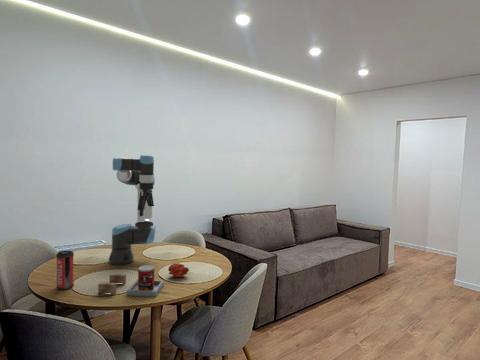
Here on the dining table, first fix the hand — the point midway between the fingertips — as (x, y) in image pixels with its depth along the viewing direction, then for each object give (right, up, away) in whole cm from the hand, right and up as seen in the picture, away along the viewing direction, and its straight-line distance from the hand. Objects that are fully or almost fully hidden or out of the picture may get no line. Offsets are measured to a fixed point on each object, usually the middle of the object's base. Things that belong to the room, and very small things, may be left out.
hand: (145, 219), depth 176 cm
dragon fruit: (+19, -33, -1) cm, 38 cm away
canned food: (+6, -33, -20) cm, 39 cm away
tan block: (-11, -33, -20) cm, 40 cm away
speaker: (-35, -32, -20) cm, 51 cm away
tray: (+6, -33, -20) cm, 39 cm away
